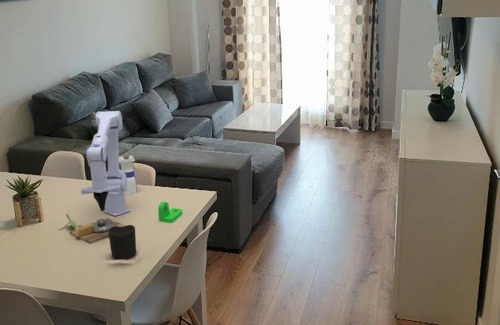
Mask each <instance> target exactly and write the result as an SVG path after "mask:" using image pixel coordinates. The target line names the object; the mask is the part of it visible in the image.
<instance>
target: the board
mask: <svg viewBox="0 0 500 325" xmlns="http://www.w3.org/2000/svg"><path fill="white" fill-rule="evenodd" d="M104 220H105V221H112V222H114V226H118V227H124V226H127V225H125V224H123V223H120V222H118V221H116V220H113V219H111V218H105V219H104ZM79 227H82V224H79V225H78V224H77V226H76V228H79ZM69 234H70V235H71V236H73V237H76V238H78V239H80V240H82V241H84V242H86V243H88V244H90V245H91V244H94V243H96V242H99V241H102V240H104V239H108V238H109V233H108V231H106V232H99V233H96V232H91V233H88V234H85V235H82V236H79V237H78V236H76V235H75V229H73V230H70V231H69Z"/></svg>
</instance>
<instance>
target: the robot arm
mask: <svg viewBox="0 0 500 325" xmlns="http://www.w3.org/2000/svg"><path fill="white" fill-rule="evenodd" d="M95 123H96V126H97V127H98V128H97V132H96V133H95V134H94V135H93V138H92V142H91V145H90V147H88V148H87V149H86V159H87V163H88V167H89V168H90V176H91V186H89V187H84V188H83V187H81V189H80V194H81V195H86V194H87V195H89V194H93V198H94V200H95V201H96V202H97V204H98V206H99V209H100V211H101V212H104V213H107V214H109V215H112V216H114V217H117V216H120V215H122V214H125V213H128V212H130V211H131V209H129V208H126V198H125V196H126V195H124V192H125V191H126V190H127V179H126V174H125V173H124V172H122V171H121V170H120V163H119V157H120V155H119V154H120V150H119V148H120V147H119V132H120V131H122V130H123V116H122V111H120V110H111V111H110V110H109V111H99V110H98V111H97V112H96V113H95ZM106 160H107V164H106ZM106 165H107V166H106ZM106 167H107V168H106Z"/></svg>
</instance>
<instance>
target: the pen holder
mask: <svg viewBox="0 0 500 325" xmlns="http://www.w3.org/2000/svg"><path fill="white" fill-rule="evenodd" d="M108 233H109V237H108V238H109V246H110V251H111V257H112V258H113V259H115V260H118V261H121V260H129V259H131V258H134V256H136V254H137V240H136V227H135V226H134V225H132V224H127V225H126V226H124V227H118V226H114V227H111V228H110V229H109V230H108Z"/></svg>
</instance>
